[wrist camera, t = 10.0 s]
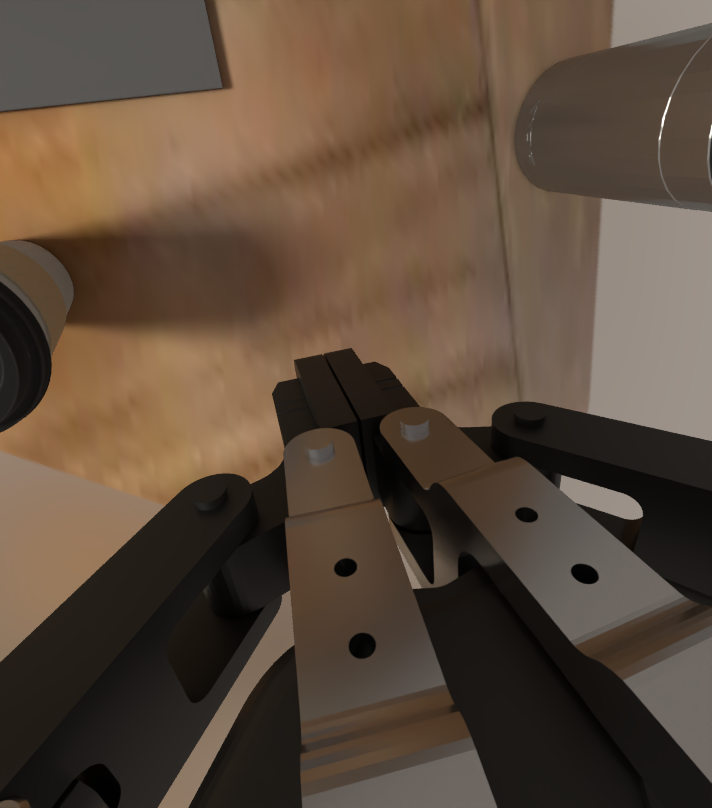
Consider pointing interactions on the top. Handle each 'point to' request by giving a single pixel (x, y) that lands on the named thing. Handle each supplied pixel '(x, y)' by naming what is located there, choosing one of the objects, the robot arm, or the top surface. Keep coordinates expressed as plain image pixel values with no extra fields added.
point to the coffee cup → (29, 324)
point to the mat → (102, 51)
